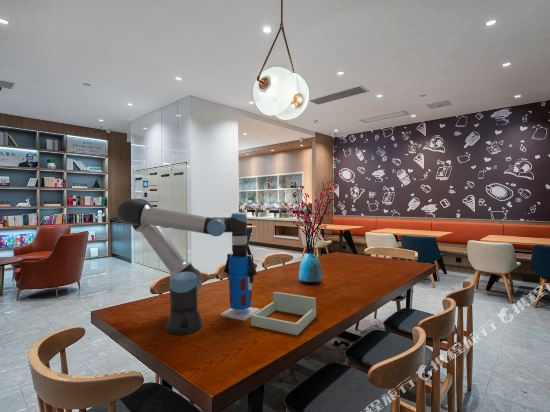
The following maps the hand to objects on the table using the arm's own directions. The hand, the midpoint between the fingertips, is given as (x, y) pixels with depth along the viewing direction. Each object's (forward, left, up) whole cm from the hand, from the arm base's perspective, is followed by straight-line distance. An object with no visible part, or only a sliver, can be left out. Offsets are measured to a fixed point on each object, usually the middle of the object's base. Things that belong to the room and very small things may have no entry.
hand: (240, 288), depth 148 cm
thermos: (0, 0, -9) cm, 9 cm away
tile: (0, 0, -13) cm, 13 cm away
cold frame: (+1, -24, -13) cm, 27 cm away
